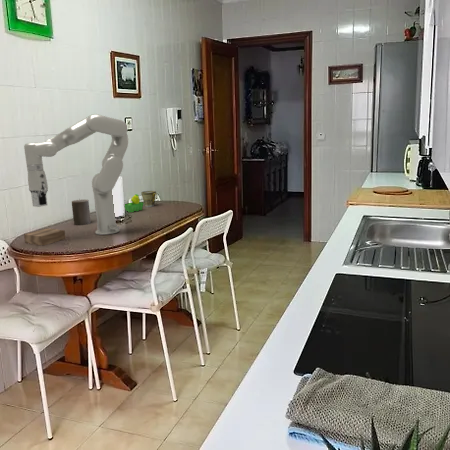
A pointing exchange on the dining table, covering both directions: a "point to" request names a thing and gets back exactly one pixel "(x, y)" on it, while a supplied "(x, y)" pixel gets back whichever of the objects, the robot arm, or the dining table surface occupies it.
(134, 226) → the dining table surface
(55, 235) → the walnut block
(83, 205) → the pillar candle
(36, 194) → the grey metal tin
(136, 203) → the fruit basket
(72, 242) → the dining table surface
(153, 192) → the ceramic cup
